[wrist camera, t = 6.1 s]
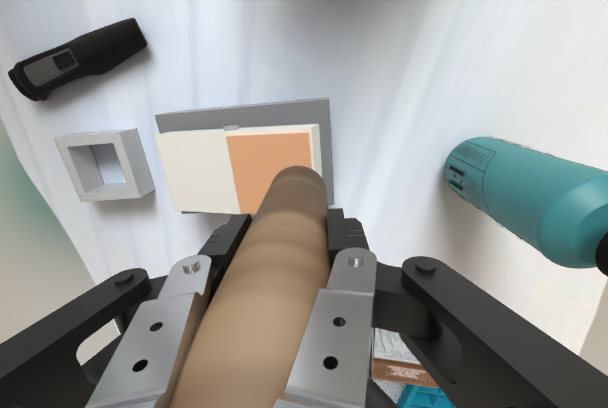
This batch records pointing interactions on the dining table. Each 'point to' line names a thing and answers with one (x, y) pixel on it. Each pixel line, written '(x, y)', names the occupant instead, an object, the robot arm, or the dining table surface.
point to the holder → (88, 174)
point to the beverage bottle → (536, 198)
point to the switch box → (260, 124)
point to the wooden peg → (262, 301)
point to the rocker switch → (233, 164)
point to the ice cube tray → (423, 398)
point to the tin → (398, 361)
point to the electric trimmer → (77, 59)
